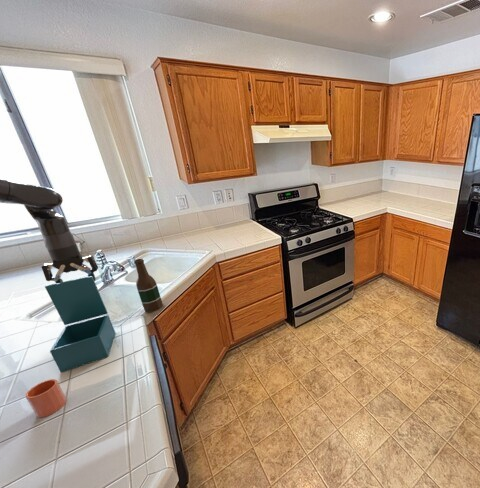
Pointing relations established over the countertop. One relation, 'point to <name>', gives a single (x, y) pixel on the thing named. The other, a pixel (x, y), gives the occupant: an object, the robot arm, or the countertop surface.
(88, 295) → the lid
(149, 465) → the countertop surface
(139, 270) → the beer bottle
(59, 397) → the cup
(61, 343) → the box
